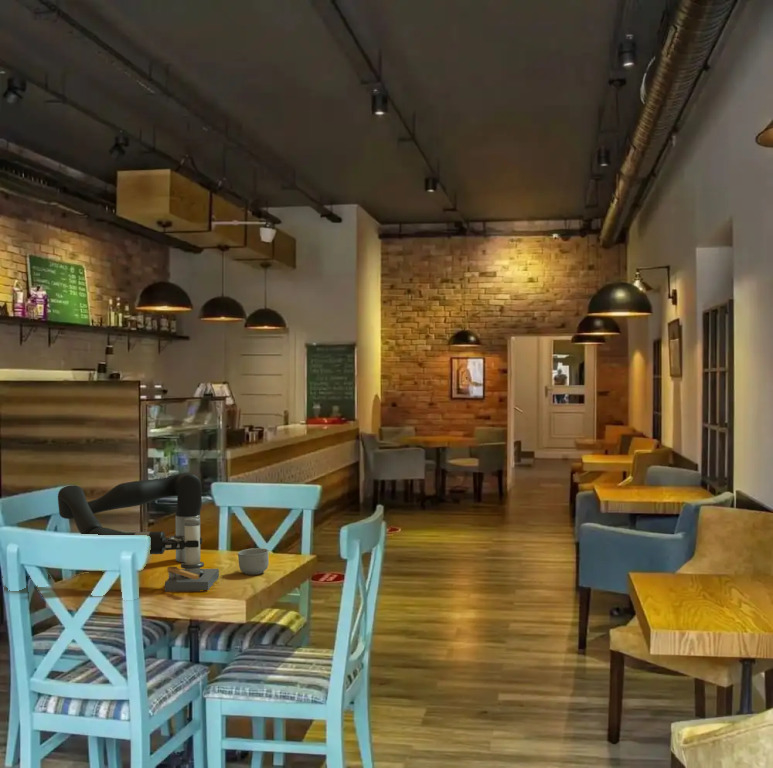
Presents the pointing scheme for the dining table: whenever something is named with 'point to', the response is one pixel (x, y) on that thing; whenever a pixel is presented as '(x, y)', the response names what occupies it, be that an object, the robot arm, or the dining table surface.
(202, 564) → the grey tall cylinder
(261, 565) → the teacup
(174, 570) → the clip
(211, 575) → the grey flat block
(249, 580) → the dining table surface
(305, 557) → the dining table surface
